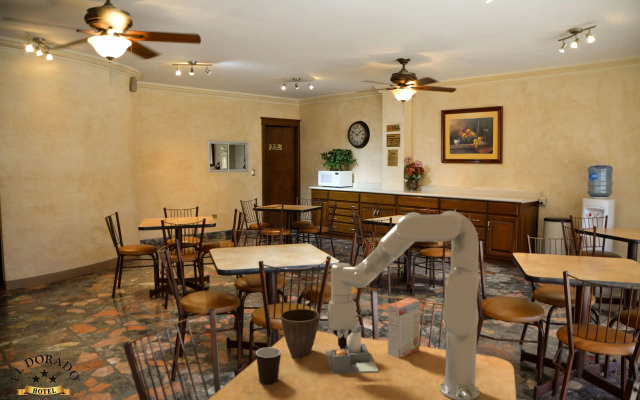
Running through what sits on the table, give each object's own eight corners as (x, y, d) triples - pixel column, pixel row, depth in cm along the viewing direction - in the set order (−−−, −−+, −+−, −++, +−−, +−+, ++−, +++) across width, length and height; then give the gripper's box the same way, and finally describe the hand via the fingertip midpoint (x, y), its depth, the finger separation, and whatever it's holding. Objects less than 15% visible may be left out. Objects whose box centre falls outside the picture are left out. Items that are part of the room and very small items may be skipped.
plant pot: (291, 365, 172) (291, 323, 171) (274, 351, 185) (274, 312, 184) (325, 357, 180) (326, 317, 178) (307, 344, 193) (307, 306, 191)
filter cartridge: (362, 359, 176) (362, 328, 175) (348, 359, 175) (348, 328, 174) (359, 353, 181) (360, 323, 180) (346, 354, 181) (346, 324, 180)
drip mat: (378, 371, 166) (378, 370, 165) (359, 372, 165) (359, 371, 165) (374, 363, 172) (374, 362, 172) (355, 364, 172) (355, 362, 172)
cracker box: (407, 346, 191) (408, 296, 190) (419, 350, 187) (421, 299, 185) (386, 356, 182) (387, 303, 180) (399, 360, 177) (400, 307, 176)
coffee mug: (274, 388, 155) (274, 359, 154) (251, 383, 158) (251, 355, 157) (288, 373, 166) (288, 346, 165) (266, 369, 169) (266, 342, 168)
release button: (346, 364, 167) (346, 353, 167) (336, 364, 167) (336, 354, 166) (344, 360, 171) (344, 349, 170) (335, 360, 170) (335, 349, 170)
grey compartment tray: (378, 375, 165) (379, 357, 165) (331, 376, 163) (331, 359, 163) (367, 352, 185) (367, 336, 184) (325, 353, 183) (325, 337, 183)
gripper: (360, 294, 171) (360, 342, 172) (320, 295, 170) (320, 344, 171) (364, 300, 164) (364, 350, 165) (322, 301, 162) (322, 353, 163)
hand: (342, 347), depth 168 cm, fingers closed
